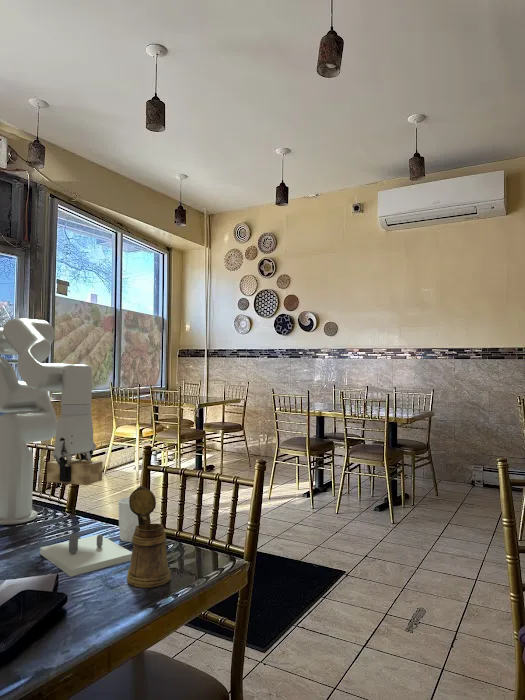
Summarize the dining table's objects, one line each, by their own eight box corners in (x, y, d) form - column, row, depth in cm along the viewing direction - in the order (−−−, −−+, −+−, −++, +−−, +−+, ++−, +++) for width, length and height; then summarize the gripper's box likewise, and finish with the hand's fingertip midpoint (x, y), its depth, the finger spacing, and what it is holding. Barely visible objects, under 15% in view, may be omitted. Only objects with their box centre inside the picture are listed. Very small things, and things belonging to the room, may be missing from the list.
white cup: (130, 545, 128) (131, 505, 129) (111, 538, 133) (112, 500, 133) (154, 537, 134) (155, 499, 135) (135, 531, 139) (136, 494, 140)
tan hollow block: (46, 481, 132) (47, 462, 132) (63, 476, 138) (64, 458, 138) (86, 485, 128) (86, 465, 128) (102, 480, 134) (102, 461, 134)
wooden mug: (157, 561, 117) (159, 483, 118) (175, 583, 105) (177, 496, 106) (119, 567, 113) (121, 487, 114) (132, 591, 101) (135, 501, 102)
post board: (40, 553, 121) (41, 528, 121) (99, 540, 131) (99, 517, 132) (70, 576, 108) (71, 548, 108) (133, 559, 118) (134, 533, 119)
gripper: (86, 408, 143) (84, 472, 142) (40, 412, 127) (38, 484, 126) (108, 409, 141) (106, 474, 140) (65, 413, 124) (63, 486, 123)
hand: (74, 478), depth 133 cm, fingers closed on tan hollow block, 6 cm apart
